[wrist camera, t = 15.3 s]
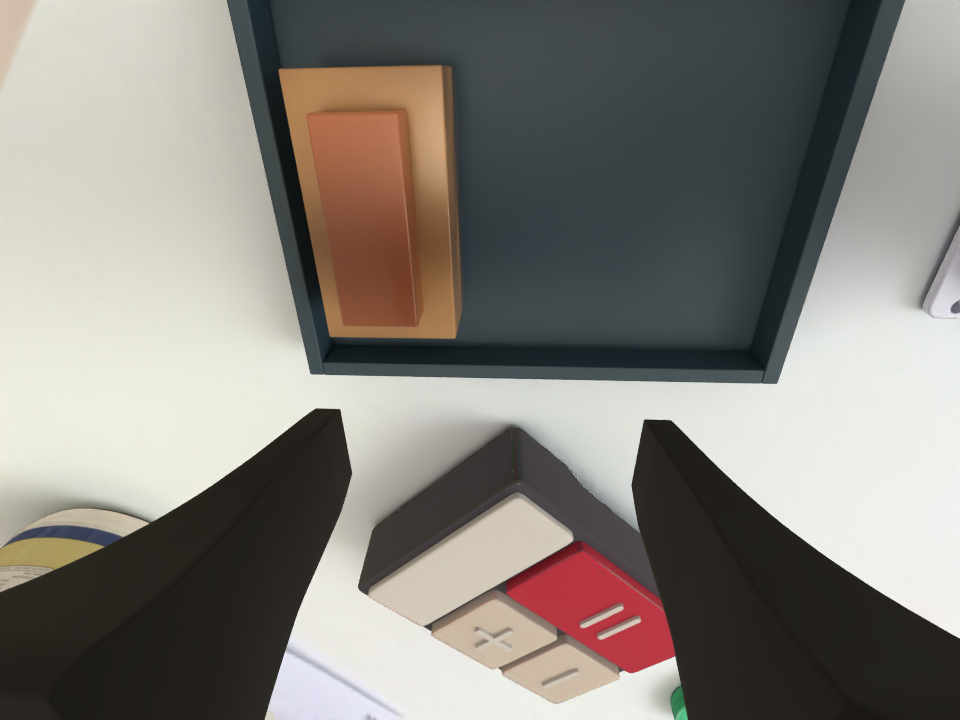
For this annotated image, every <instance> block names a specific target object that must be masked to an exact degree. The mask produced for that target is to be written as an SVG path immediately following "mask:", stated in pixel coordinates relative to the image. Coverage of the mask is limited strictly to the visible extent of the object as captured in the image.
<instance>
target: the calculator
mask: <svg viewBox="0 0 960 720" xmlns="http://www.w3.org/2000/svg"><path fill="white" fill-rule="evenodd" d="M358 588H359V590H360V591H361V592H363V593H364V594H366V595H368V596H369V597H370V598H371V599H373V600H374V601H376V602H378V603H380V604H382V605H383V606H385V607H387V608H389V609H390V610H392V611H394V612H396V613H398V614H399V615H401V616H403V617H405V618H407V619H408V620H410V621H412V622H414V623H416V624H418V625H420V626H423V627H425V628H427V629H429V630H430V631H432V633H431V635H432V636H433V637H434V638H436V639H438V640H439V641H441V642H443V643H445V644H447V645H448V646H450V647H452V648H454V649H456V650H457V651H459V652H461V653H463V654H465V655H467V656H468V657H470V658H472V659H474V660H476V661H477V662H479V663H481V664H483V665H485V666H486V667H488V668H491V669H496V668H499V669H500V670H502V675H503V676H505V677H506V678H508V679H510V680H512V681H514V682H515V683H517V684H519V685H521V686H523V687H524V688H526V689H528V690H530V691H532V692H533V693H535V694H537V695H539V696H541V697H543V698H544V699H546V700H548V701H550V702H552V703H554V704H558V703H562V702H564V701H566V700H569V699H571V698H574V697H576V696H579V695H581V694H584V693H586V692H588V691H591V690H593V689H596V688H598V687H601V686H603V685H606V684H608V683H611V682H613V681H615V680H617V679H619V677H620V676H619V672H621V671H624V670H625V671H626V672H628V673H635V672H638V671H640V670H643V669H645V668H647V667H650V666H652V665H655V664H657V663H660V662H662V661H665V660H667V659H669V658H672V657H674V656H675V651H674V647H673V642H672V637H671V633H670V630H669V626H668V622H667V618H666V615H665V612H664V608H663V605H662V602H661V599H660V595H659V592H658V589H657V586H656V582H655V579H654V576H653V573H652V569H651V566H650V563H649V560H648V556H647V553H646V550H645V546H644V543H643V540H642V536H641V534H639V533H638V532H637V531H636V530H634V529H633V528H632V527H631V526H629V525H628V524H627V523H626V522H625V521H623V520H622V519H621V518H620V517H618V516H617V515H616V514H615V513H614V512H612V511H611V510H610V509H609V508H607V507H606V506H605V505H604V504H603V503H601V502H600V501H599V500H598V499H596V498H595V497H594V496H593V495H592V494H590V493H589V492H588V491H587V490H585V489H584V488H583V487H582V486H581V485H580V484H579V482H578V481H577V480H576V478H575V477H574V475H573V474H572V473H571V471H570V470H569V469H568V467H567V466H565V465H564V464H563V463H562V462H561V461H559V460H558V459H557V458H556V457H555V456H553V455H552V454H551V453H550V452H549V451H547V450H546V449H545V448H544V447H543V446H541V445H540V444H539V443H538V442H536V441H535V440H534V439H533V438H532V437H530V436H529V435H528V434H527V433H526V432H524V431H523V430H521V429H520V428H511V429H509V430H507V431H506V432H504V433H503V434H502V435H500V436H499V437H498V438H496V439H495V440H493V441H492V442H491V443H489V444H488V445H487V446H485V447H484V448H483V449H481V450H480V451H478V452H477V453H476V454H474V455H473V456H472V457H470V458H469V459H467V460H466V461H465V462H463V463H462V464H461V465H459V466H458V467H457V468H455V469H454V470H452V471H451V472H450V473H448V474H447V475H446V476H444V477H443V478H442V479H440V480H439V481H437V482H436V483H435V484H433V485H432V486H431V487H429V488H428V489H427V490H425V491H424V492H422V493H421V494H420V495H418V496H417V497H416V498H414V499H413V500H412V501H410V502H409V503H407V504H406V505H405V506H403V507H402V508H401V509H399V510H398V511H397V512H395V513H394V514H392V515H391V516H390V517H388V518H387V519H386V520H384V521H383V522H381V523H380V524H379V525H377V526H376V527H375V528H374V529H373V531H372V535H371V538H370V542H369V546H368V550H367V553H366V557H365V561H364V565H363V569H362V572H361V576H360V580H359V584H358Z"/></svg>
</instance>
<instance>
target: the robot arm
mask: <svg viewBox="0 0 960 720" xmlns="http://www.w3.org/2000/svg"><path fill="white" fill-rule="evenodd" d="M957 301H959V302H958V304H957V305H956V306H955V307H953V308H951V306H952V305H953V304H954V303H955V302H957ZM922 308H923V311H924V312H925V313H926V314H928V315H929V316H931V317H933V318H944V319H960V225H959V228H958V230H957V232H956V234H955V236H954V238H953V240H952V243H951V245H950V247H949V249H948V251H947V253H946V256H945V258H944V260H943V262H942V264H941V266H940V268H939V271H938V273H937V275H936V277H935V279H934V281H933V283H932V286H931V288H930V290H929V292H928V294H927V296H926V299H925V301H924V303H923V307H922ZM351 476H352V470H351V465H350V459H349V454H348V449H347V443H346V438H345V433H344V427H343V422H342V417H341V411H340V409H314V410H313V411H311V412H310V413H309V414H307V415H306V416H305V417H303V418H302V419H301V420H299V421H298V422H297V423H296V424H294V425H293V426H292V427H290V428H289V429H288V430H287V431H285V432H284V433H283V434H282V435H280V436H279V437H278V438H276V439H275V440H274V441H273V442H271V443H270V444H269V445H267V446H266V447H265V448H263V449H262V450H261V451H260V452H258V453H257V454H256V455H254V456H253V457H252V458H250V459H249V460H248V461H246V462H245V463H243V464H242V465H241V466H239V467H238V468H236V469H235V470H234V471H232V472H231V473H229V474H228V475H226V476H225V477H224V478H222V479H221V480H219V481H218V482H216V483H215V484H214V485H212V486H211V487H209V488H208V489H206V490H205V491H203V492H202V493H200V494H198V495H197V496H195V497H194V498H192V499H191V500H189V501H187V502H186V503H184V504H182V505H181V506H179V507H177V508H176V509H174V510H172V511H171V512H169V513H167V514H166V515H164V516H162V517H160V518H159V519H157V520H155V521H153V522H151V523H149V524H147V525H145V526H144V527H142V528H140V529H138V530H136V531H134V532H132V533H130V534H128V535H126V536H124V537H123V538H121V539H119V540H117V541H115V542H113V543H111V544H109V545H107V546H105V547H103V548H101V549H99V550H97V551H95V552H93V553H90V554H88V555H86V556H84V557H82V558H80V559H78V560H75V561H73V562H71V563H69V564H67V565H64V566H62V567H60V568H57V569H55V570H53V571H51V572H48V573H46V574H44V575H41V576H39V577H37V578H34V579H32V580H29V581H27V582H25V583H22V584H20V585H17V586H14V587H12V588H9V589H7V590H4V591H2V592H0V720H265V716H266V712H267V709H268V705H269V702H270V699H271V695H272V692H273V689H274V686H275V682H276V679H277V676H278V672H279V669H280V666H281V662H282V659H283V656H284V653H285V650H286V647H287V644H288V641H289V638H290V635H291V631H292V628H293V625H294V622H295V619H296V616H297V614H298V611H299V608H300V606H301V603H302V601H303V598H304V596H305V593H306V591H307V589H308V587H309V584H310V582H311V580H312V577H313V575H314V573H315V571H316V568H317V566H318V564H319V562H320V559H321V557H322V555H323V552H324V550H325V548H326V546H327V543H328V541H329V539H330V537H331V534H332V532H333V530H334V527H335V525H336V523H337V520H338V518H339V515H340V513H341V511H342V507H343V504H344V501H345V497H346V494H347V490H348V487H349V483H350V479H351ZM632 491H633V498H634V504H635V510H636V515H637V521H638V526H639V529H640V533H641V536H642V540H643V543H644V546H645V550H646V553H647V556H648V560H649V563H650V566H651V569H652V573H653V576H654V579H655V582H656V586H657V589H658V592H659V595H660V599H661V602H662V605H663V608H664V612H665V615H666V618H667V622H668V626H669V630H670V633H671V637H672V642H673V647H674V651H675V656H676V661H677V666H678V671H679V676H680V681H681V686H682V691H683V697H684V702H685V707H686V713H687V718H688V720H960V639H959V638H958V637H956V636H954V635H952V634H950V633H949V632H947V631H945V630H943V629H942V628H940V627H938V626H936V625H935V624H933V623H931V622H929V621H928V620H926V619H924V618H922V617H921V616H919V615H917V614H915V613H914V612H912V611H910V610H908V609H907V608H905V607H903V606H902V605H900V604H898V603H897V602H895V601H893V600H892V599H890V598H889V597H887V596H885V595H884V594H882V593H880V592H879V591H877V590H876V589H874V588H872V587H871V586H869V585H868V584H866V583H865V582H863V581H862V580H860V579H859V578H857V577H856V576H854V575H853V574H851V573H850V572H848V571H846V570H845V569H843V568H842V567H840V566H839V565H837V564H836V563H835V562H833V561H832V560H830V559H829V558H827V557H826V556H824V555H823V554H822V553H820V552H819V551H817V550H816V549H815V548H813V547H812V546H811V545H809V544H808V543H807V542H805V541H804V540H803V539H801V538H800V537H799V536H797V535H796V534H795V533H793V532H792V531H791V530H789V529H788V528H787V527H786V526H784V525H783V524H782V523H781V522H779V521H778V520H777V519H776V518H774V517H773V516H772V515H771V514H770V513H768V512H767V511H766V510H765V509H764V508H763V507H761V506H760V505H759V504H758V503H757V502H755V501H754V500H753V499H752V498H751V497H750V496H748V495H747V494H746V493H745V492H744V491H743V490H742V489H741V488H740V487H738V486H737V485H736V484H735V483H734V482H733V481H732V480H731V479H730V478H729V477H728V476H727V475H726V474H725V473H724V472H722V471H721V470H720V469H719V468H718V467H717V466H716V465H715V464H714V463H713V462H712V461H711V460H710V459H709V458H708V457H707V456H706V455H705V454H704V453H703V452H702V451H701V450H700V449H699V448H698V447H697V446H696V445H695V444H694V443H693V442H692V441H691V440H690V439H689V438H688V437H687V436H686V435H685V434H684V433H683V432H682V431H681V430H680V429H679V428H678V427H677V426H676V425H675V424H674V423H673V422H672V421H671V420H644V423H643V428H642V433H641V438H640V444H639V449H638V454H637V459H636V464H635V470H634V475H633V480H632Z"/></svg>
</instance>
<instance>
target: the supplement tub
mask: <svg viewBox="0 0 960 720" xmlns="http://www.w3.org/2000/svg"><path fill="white" fill-rule="evenodd" d="M147 524H149V523H147V522H145V521H143V520H140V519H137V518H134V517H131V516H128V515H124V514H121V513H117V512H112V511H106V510H99V509H89V508H82V509H71V510H65V511H60V512H57V513H53V514H51V515H48V516H46V517H43V518H41V519H39V520H37V521H35V522H34V523H32V524H30V525H29V526H27V527H26V528H24V529H22V530H21V531H19V532H18V533H17V534H15V535H14V536H13V538H12V539H11V540H10V541H8V542H7V543H6V544H5V545H4V546H3V547H2V548H1V549H0V592H2V591H4V590H7V589H9V588H12V587H14V586H17V585H20V584H22V583H25V582H27V581H29V580H32V579H34V578H37V577H39V576H41V575H44V574H46V573H48V572H51V571H53V570H55V569H57V568H60V567H62V566H64V565H67V564H69V563H71V562H73V561H75V560H78V559H80V558H82V557H84V556H86V555H88V554H90V553H93V552H95V551H97V550H99V549H101V548H103V547H105V546H107V545H109V544H111V543H113V542H115V541H117V540H119V539H121V538H123V537H124V536H126V535H128V534H130V533H132V532H134V531H136V530H138V529H140V528H142V527H144V526H145V525H147Z"/></svg>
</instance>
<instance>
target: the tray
mask: <svg viewBox="0 0 960 720" xmlns="http://www.w3.org/2000/svg"><path fill="white" fill-rule="evenodd" d="M904 2H905V0H227V3H228V7H229V12H230V16H231V21H232V25H233V30H234V34H235V39H236V43H237V48H238V52H239V57H240V61H241V65H242V70H243V74H244V79H245V83H246V88H247V92H248V97H249V101H250V106H251V110H252V115H253V119H254V124H255V128H256V132H257V137H258V141H259V146H260V150H261V155H262V159H263V164H264V168H265V173H266V177H267V182H268V186H269V190H270V195H271V199H272V204H273V208H274V213H275V217H276V222H277V226H278V231H279V235H280V240H281V244H282V248H283V253H284V257H285V262H286V266H287V271H288V275H289V280H290V284H291V289H292V293H293V298H294V302H295V307H296V311H297V315H298V320H299V324H300V329H301V333H302V338H303V342H304V347H305V351H306V356H307V360H308V365H309V369H310V373H311V374H321V375H323V374H325V375H362V376H412V377H463V378H513V379H563V380H613V381H663V382H713V383H764V384H777V383H778V380H779V377H780V374H781V371H782V368H783V365H784V362H785V359H786V356H787V353H788V350H789V347H790V344H791V341H792V338H793V335H794V332H795V329H796V326H797V323H798V320H799V317H800V314H801V311H802V308H803V305H804V302H805V299H806V296H807V293H808V290H809V287H810V284H811V281H812V278H813V275H814V272H815V269H816V266H817V263H818V260H819V257H820V254H821V251H822V248H823V245H824V242H825V239H826V236H827V233H828V230H829V227H830V224H831V221H832V218H833V215H834V212H835V209H836V206H837V203H838V200H839V197H840V194H841V191H842V188H843V185H844V182H845V179H846V176H847V173H848V170H849V167H850V164H851V161H852V158H853V155H854V152H855V149H856V146H857V143H858V140H859V137H860V134H861V131H862V128H863V125H864V122H865V119H866V116H867V113H868V110H869V107H870V104H871V101H872V98H873V95H874V92H875V89H876V86H877V83H878V80H879V77H880V74H881V71H882V68H883V65H884V62H885V59H886V56H887V53H888V50H889V47H890V44H891V41H892V38H893V35H894V32H895V29H896V26H897V23H898V20H899V17H900V14H901V11H902V8H903V5H904ZM411 65H446V66H452V67H455V69H456V93H457V119H458V144H459V170H460V196H461V222H462V247H463V273H464V299H465V301H464V305H463V310H462V314H461V318H460V322H459V326H458V331H457V335H456V338H455V339H446V338H373V337H330V335H329V330H328V325H327V320H326V314H325V309H324V304H323V299H322V294H321V289H320V283H319V278H318V273H317V268H316V263H315V258H314V252H313V247H312V242H311V237H310V232H309V227H308V221H307V216H306V211H305V206H304V201H303V196H302V190H301V185H300V180H299V175H298V170H297V165H296V159H295V154H294V149H293V144H292V139H291V134H290V128H289V123H288V118H287V113H286V108H285V103H284V97H283V92H282V87H281V82H280V77H279V72H278V71H279V69H292V68H332V67H371V66H411Z"/></svg>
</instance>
